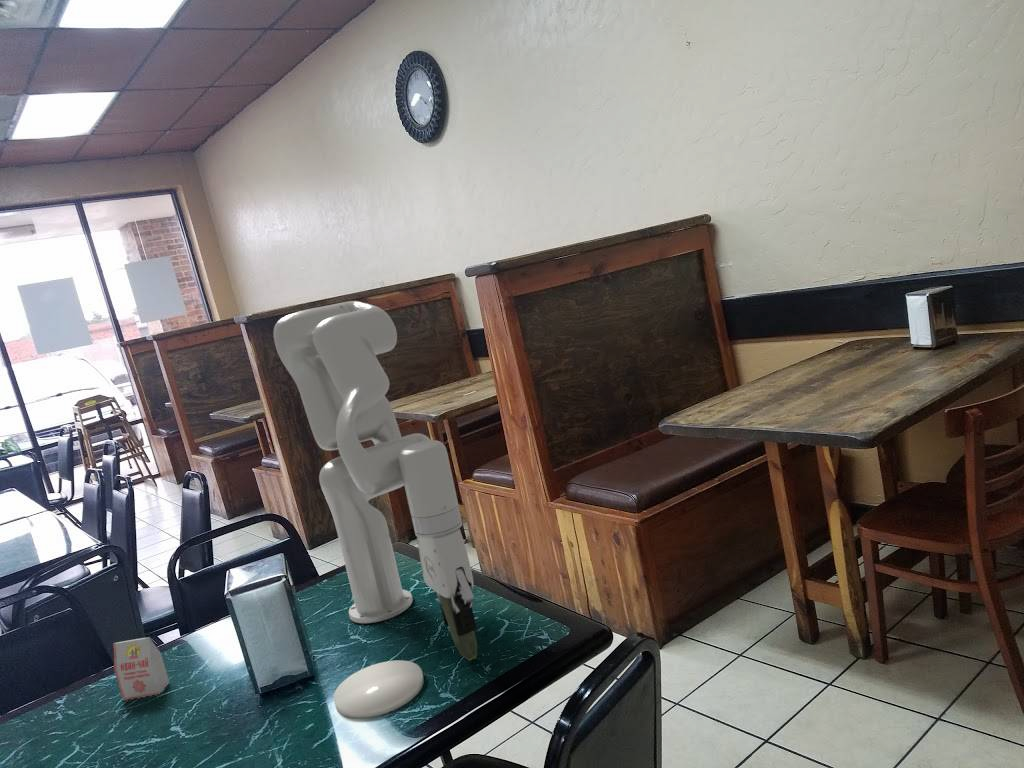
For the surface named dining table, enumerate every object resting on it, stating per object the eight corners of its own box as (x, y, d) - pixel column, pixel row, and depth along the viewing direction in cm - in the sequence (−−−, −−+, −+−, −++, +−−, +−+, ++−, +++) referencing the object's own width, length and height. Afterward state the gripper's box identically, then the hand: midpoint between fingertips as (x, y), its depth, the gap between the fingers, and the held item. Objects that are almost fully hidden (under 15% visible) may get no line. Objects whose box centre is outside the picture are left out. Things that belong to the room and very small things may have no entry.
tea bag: (134, 689, 141) (119, 638, 139) (169, 683, 140) (154, 632, 139) (123, 700, 137) (107, 648, 136) (159, 694, 137) (144, 642, 135)
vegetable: (477, 669, 123) (451, 550, 120) (451, 671, 124) (424, 553, 121) (483, 654, 128) (458, 539, 124) (458, 656, 129) (433, 542, 125)
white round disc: (324, 692, 126) (323, 686, 125) (404, 657, 132) (403, 651, 132) (350, 730, 113) (349, 722, 113) (437, 689, 120) (436, 682, 120)
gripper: (395, 516, 128) (419, 620, 130) (436, 540, 113) (462, 655, 116) (437, 502, 131) (459, 603, 134) (482, 523, 116) (505, 635, 119)
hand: (460, 626), depth 125 cm, fingers closed on vegetable, 4 cm apart
